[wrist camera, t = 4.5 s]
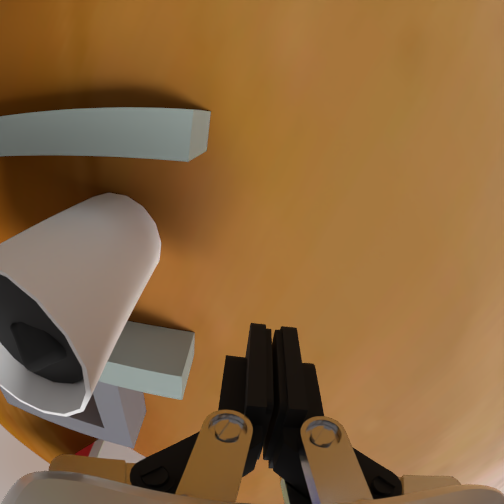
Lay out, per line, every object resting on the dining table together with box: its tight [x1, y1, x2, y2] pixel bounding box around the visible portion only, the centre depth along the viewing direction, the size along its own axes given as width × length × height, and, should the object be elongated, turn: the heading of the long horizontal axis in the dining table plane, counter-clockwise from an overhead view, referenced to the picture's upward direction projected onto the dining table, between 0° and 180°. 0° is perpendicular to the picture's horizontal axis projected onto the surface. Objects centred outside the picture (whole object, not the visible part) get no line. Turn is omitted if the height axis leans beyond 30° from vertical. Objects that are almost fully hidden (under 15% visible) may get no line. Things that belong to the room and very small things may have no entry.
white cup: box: [0, 193, 161, 417], centre depth 13 cm, size 7×7×10 cm
